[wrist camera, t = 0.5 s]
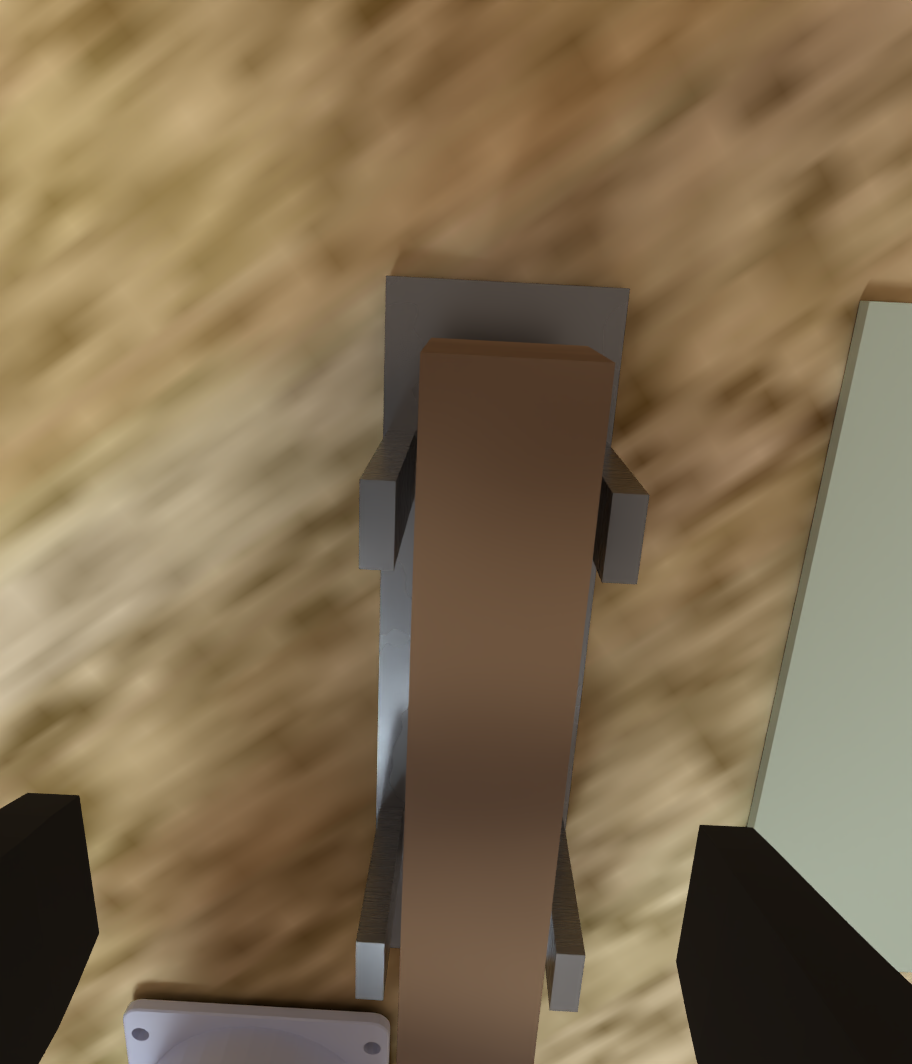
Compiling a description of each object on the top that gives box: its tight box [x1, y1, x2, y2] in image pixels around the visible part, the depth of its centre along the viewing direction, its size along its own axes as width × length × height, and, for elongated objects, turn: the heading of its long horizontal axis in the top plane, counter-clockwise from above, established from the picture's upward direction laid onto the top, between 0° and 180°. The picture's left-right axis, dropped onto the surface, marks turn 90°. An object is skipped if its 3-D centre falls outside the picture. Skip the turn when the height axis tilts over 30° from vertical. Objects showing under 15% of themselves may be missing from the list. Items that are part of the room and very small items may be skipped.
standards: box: [356, 276, 649, 1012], centre depth 16 cm, size 18×5×5 cm, turn 177°
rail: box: [397, 338, 615, 1064], centre depth 15 cm, size 16×3×3 cm, turn 177°
